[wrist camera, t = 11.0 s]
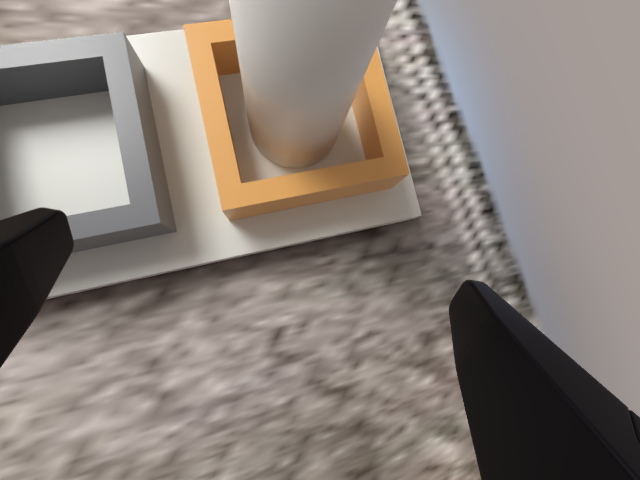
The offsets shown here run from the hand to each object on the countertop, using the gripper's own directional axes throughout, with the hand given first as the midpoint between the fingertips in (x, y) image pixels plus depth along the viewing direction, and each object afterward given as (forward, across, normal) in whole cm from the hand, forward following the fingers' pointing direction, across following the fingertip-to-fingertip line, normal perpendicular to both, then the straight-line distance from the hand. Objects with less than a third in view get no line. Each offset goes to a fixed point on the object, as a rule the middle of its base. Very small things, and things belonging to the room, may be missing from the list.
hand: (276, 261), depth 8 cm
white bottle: (+12, 0, +1) cm, 12 cm away
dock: (+11, +5, +3) cm, 13 cm away
